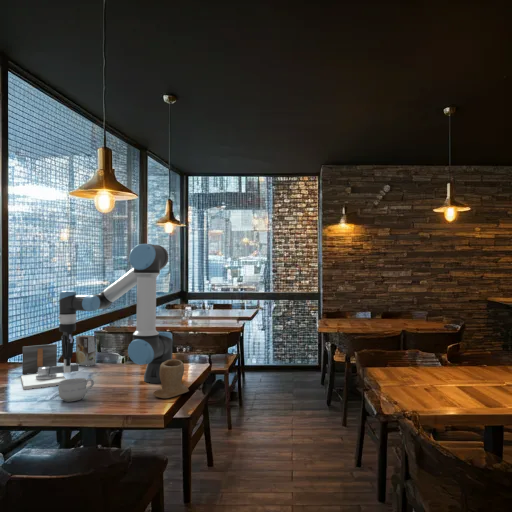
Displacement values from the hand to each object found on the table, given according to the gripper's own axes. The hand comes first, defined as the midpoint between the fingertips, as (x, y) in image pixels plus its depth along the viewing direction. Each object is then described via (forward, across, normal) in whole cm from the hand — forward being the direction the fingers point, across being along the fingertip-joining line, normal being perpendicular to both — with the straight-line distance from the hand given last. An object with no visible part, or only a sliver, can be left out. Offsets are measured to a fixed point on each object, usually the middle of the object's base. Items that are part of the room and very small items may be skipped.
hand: (67, 372), depth 218 cm
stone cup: (+4, +56, +27) cm, 62 cm away
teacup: (+4, +35, -6) cm, 36 cm away
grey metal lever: (+2, -5, -3) cm, 6 cm away
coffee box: (+4, -32, +19) cm, 37 cm away
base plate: (+4, -6, -9) cm, 12 cm away
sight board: (+4, -27, -6) cm, 28 cm away
